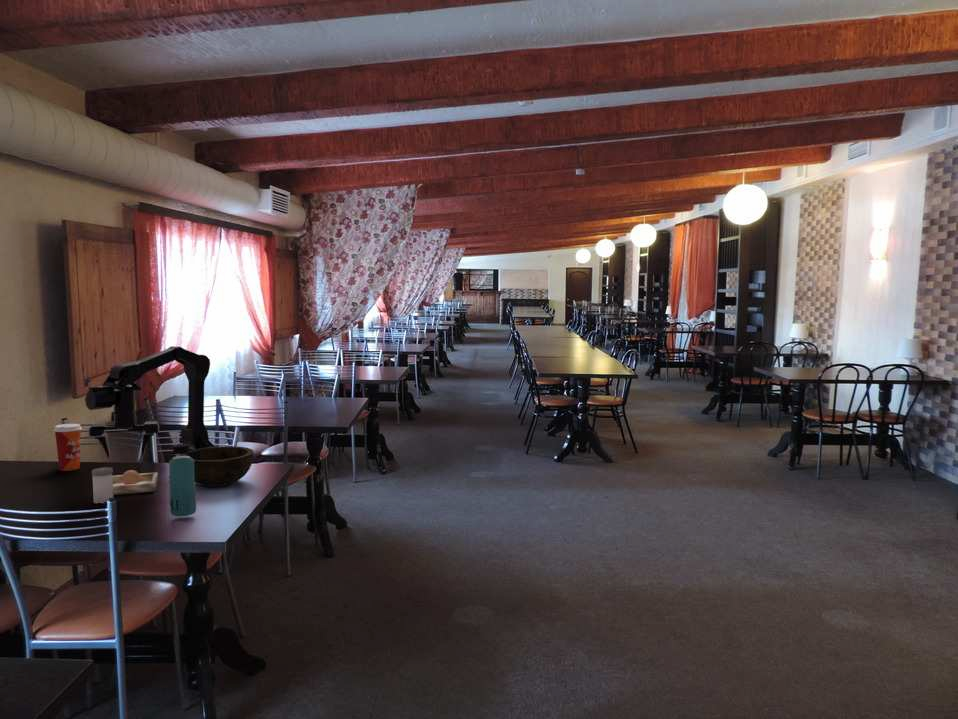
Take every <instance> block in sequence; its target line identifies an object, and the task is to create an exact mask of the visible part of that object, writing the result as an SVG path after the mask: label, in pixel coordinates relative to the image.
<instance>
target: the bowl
mask: <svg viewBox="0 0 958 719" xmlns="http://www.w3.org/2000/svg"><path fill="white" fill-rule="evenodd" d="M254 453H255V452H254V450H253V449H252V448H249V447H245V446H237V445H236V446H231V445H223V446H219V445H218V446H215V447H207V448H200V449H194V450H190V452H189V453H186V454H179V456H190V457H191V458H192V459H193V460H194V476H195V484H197V485H201V486H203V487H223V486H229V485H231V484H234V483H236V482H237V481H239V480H241V479H242V478H243V477H244V476H246V475H247V473H248V472H249V471H250V469H251V466H252V464H253V461H254V455H255V454H254Z"/></svg>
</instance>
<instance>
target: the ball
mask: <svg viewBox="0 0 958 719" xmlns="http://www.w3.org/2000/svg"><path fill="white" fill-rule="evenodd" d="M139 474H140V473H138V471H136V470H133V469H130V470H126V471H125V472H123V474H122V475H123V476H122V481H123V483H124V484H125V485H129V484H137V482H138V481H139Z"/></svg>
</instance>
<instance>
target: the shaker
mask: <svg viewBox="0 0 958 719" xmlns="http://www.w3.org/2000/svg"><path fill="white" fill-rule="evenodd" d="M113 470H114V469H113V467H107V466H106V467H99V468H98V467H97V468H94V469H92V471H91V475H92V493H93V495H92V498H93V503H94V504H98V503H101V504H105V503H104V502H106V501H107V500H108V499H109V498H113V499H114V495H113V478H112V476H113Z"/></svg>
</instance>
